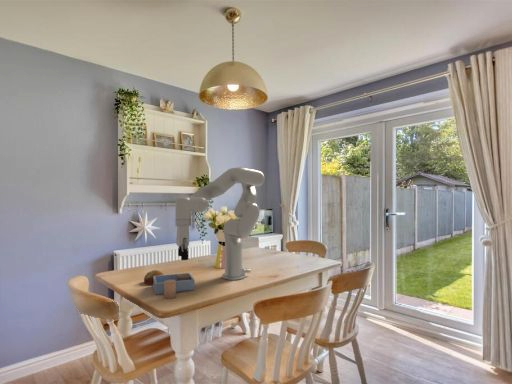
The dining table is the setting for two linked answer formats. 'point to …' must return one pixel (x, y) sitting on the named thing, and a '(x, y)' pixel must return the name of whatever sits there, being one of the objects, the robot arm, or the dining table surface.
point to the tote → (180, 285)
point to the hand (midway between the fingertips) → (183, 257)
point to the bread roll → (151, 276)
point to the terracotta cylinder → (169, 289)
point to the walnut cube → (182, 277)
